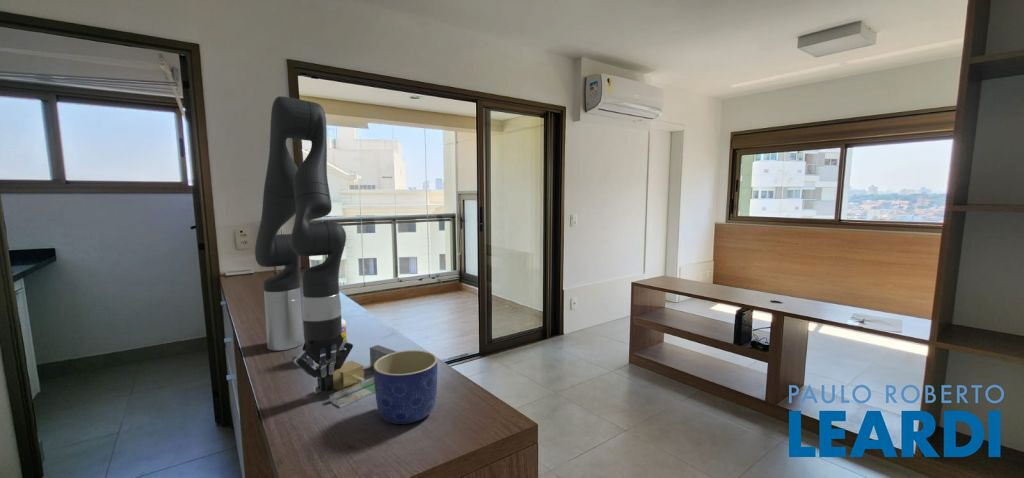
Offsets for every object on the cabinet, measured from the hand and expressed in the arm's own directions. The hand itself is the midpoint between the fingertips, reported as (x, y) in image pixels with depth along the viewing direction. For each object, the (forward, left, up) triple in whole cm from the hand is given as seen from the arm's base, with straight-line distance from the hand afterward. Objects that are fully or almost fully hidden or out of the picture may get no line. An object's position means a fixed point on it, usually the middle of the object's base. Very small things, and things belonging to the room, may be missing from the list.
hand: (325, 391), depth 88 cm
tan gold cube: (+2, +5, -1) cm, 6 cm away
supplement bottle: (-20, +13, -1) cm, 24 cm away
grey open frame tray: (+2, +8, -1) cm, 8 cm away
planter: (+20, +6, -1) cm, 21 cm away
